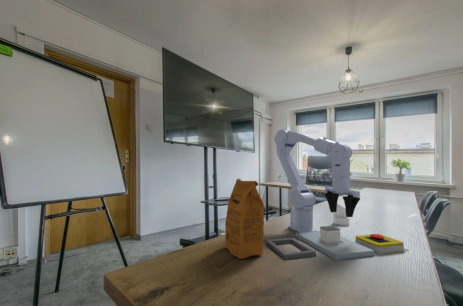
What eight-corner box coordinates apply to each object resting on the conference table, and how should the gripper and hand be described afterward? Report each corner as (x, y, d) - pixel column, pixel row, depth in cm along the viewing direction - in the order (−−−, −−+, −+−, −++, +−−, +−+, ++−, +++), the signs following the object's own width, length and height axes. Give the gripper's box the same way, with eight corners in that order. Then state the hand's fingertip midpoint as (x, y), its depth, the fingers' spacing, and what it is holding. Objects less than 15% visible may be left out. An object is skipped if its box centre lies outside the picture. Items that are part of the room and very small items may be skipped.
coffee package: (247, 242, 74) (248, 178, 75) (267, 256, 62) (268, 180, 64) (220, 246, 70) (222, 178, 71) (236, 262, 58) (238, 181, 60)
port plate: (296, 237, 80) (296, 232, 80) (327, 234, 84) (327, 230, 84) (336, 260, 61) (336, 254, 61) (374, 255, 65) (374, 250, 65)
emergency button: (350, 232, 75) (382, 229, 79) (350, 245, 74) (382, 242, 79) (375, 242, 66) (410, 238, 70) (375, 256, 66) (410, 252, 70)
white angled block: (323, 216, 104) (333, 201, 103) (343, 228, 102) (352, 213, 102) (325, 218, 100) (335, 202, 100) (345, 230, 99) (355, 214, 98)
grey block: (320, 244, 73) (320, 226, 74) (332, 243, 75) (332, 225, 75) (327, 248, 70) (327, 229, 70) (339, 247, 71) (339, 228, 72)
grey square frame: (266, 243, 73) (266, 240, 73) (292, 241, 76) (292, 237, 76) (284, 259, 61) (285, 254, 61) (316, 255, 64) (316, 251, 64)
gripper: (318, 175, 85) (318, 210, 84) (347, 178, 71) (348, 219, 70) (333, 175, 87) (333, 209, 86) (364, 178, 73) (365, 218, 72)
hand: (341, 214), depth 78 cm, fingers open, 7 cm apart
